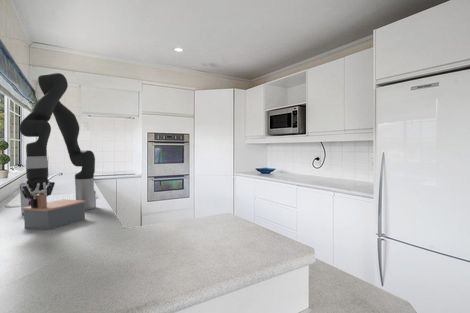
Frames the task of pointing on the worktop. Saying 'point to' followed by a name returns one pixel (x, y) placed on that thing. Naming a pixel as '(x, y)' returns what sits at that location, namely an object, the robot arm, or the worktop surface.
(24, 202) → the candy bar box
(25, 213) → the tub
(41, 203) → the lid
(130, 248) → the worktop surface
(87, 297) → the worktop surface
